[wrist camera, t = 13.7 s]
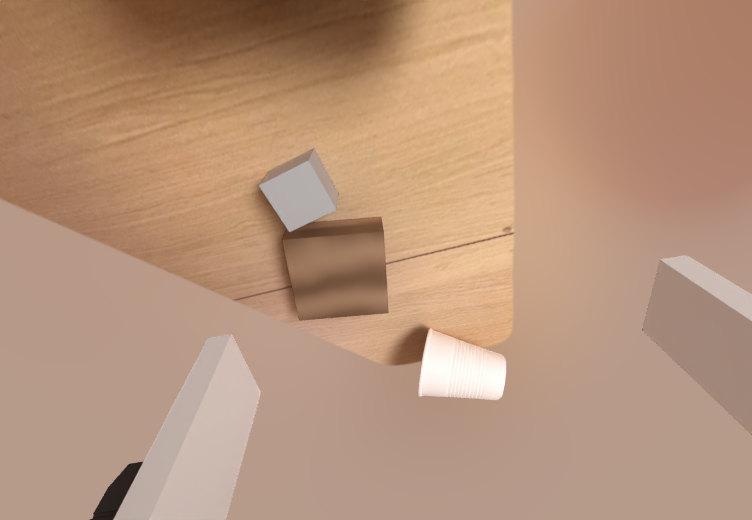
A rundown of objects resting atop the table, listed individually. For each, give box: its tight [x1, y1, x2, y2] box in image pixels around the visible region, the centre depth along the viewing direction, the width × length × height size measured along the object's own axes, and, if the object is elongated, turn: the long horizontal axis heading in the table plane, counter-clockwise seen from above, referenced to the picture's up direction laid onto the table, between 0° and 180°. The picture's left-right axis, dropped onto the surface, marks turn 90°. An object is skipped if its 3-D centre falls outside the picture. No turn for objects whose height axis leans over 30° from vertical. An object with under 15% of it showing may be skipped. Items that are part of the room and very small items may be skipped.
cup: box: [418, 328, 506, 400], centre depth 52 cm, size 10×10×11 cm
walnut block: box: [282, 217, 388, 320], centre depth 47 cm, size 12×12×5 cm
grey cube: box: [259, 148, 339, 232], centre depth 41 cm, size 6×6×6 cm
